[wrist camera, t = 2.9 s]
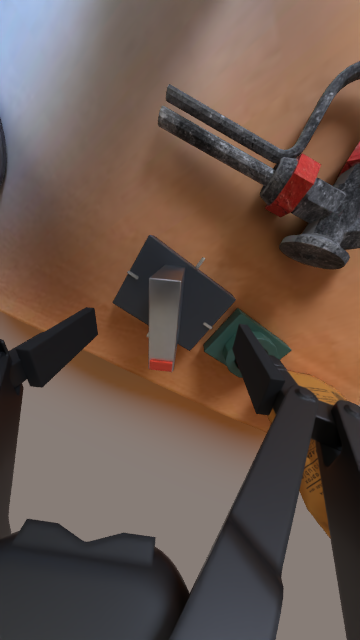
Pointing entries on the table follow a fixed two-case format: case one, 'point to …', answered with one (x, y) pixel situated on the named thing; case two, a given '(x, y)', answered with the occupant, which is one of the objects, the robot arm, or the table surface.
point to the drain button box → (225, 337)
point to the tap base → (198, 292)
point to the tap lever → (164, 316)
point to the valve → (285, 175)
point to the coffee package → (314, 451)
